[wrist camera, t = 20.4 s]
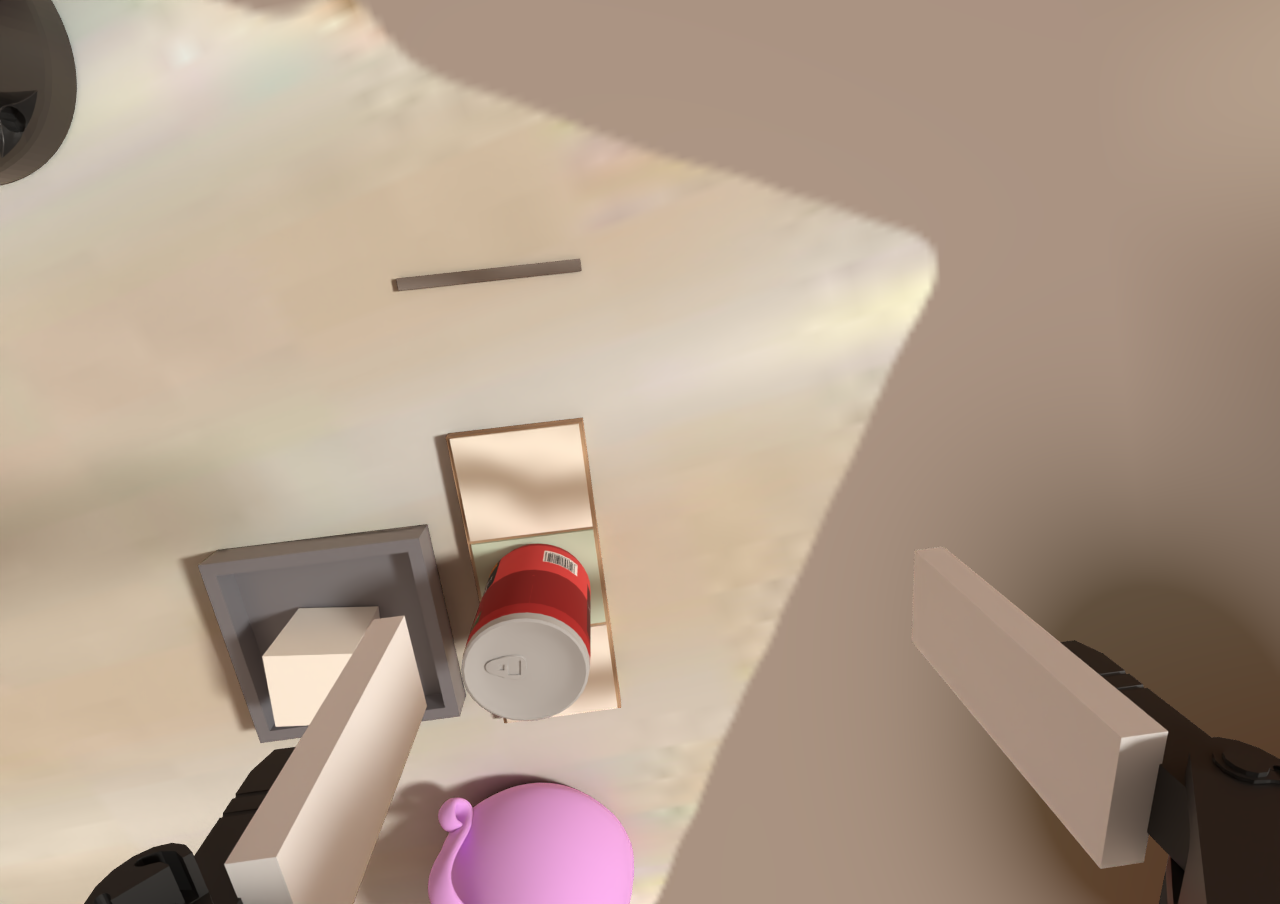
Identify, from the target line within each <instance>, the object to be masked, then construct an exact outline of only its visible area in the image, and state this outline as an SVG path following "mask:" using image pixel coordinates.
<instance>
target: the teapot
mask: <svg viewBox="0 0 1280 904" xmlns="http://www.w3.org/2000/svg"><path fill="white" fill-rule="evenodd" d="M438 819H439V823H440V825H441V826H442V828H443V829H444V830H445V831H447V832H450V833H449V834H448V836H447V838H446V840H445V841H444V844H443V846H442V849H441V851H440V853H439V854H438V856H437V858H436V860H435V862H434V864H433V867H432V869H431V872H430V876H429V882H428V894H429V899H430V902H431V904H630V899H631V894H632V886H633V878H634V857H633V850H632V845H631V842H630V840H629V837H628V835H627V833H626V831H625V829H624V828H623V826H622V824H621V823H620V821H619V820H618V819H617V818H616V817H615V816H614V814H613V813H611V812H610V811H609V810H608V809H607V808H606V807H605V806H603V805H602V804H601V803H599V802H598V801H596V800H595V799H593V798H592V797H590V796H589V795H587V794H585V793H583V792H581V791H579V790H577V789H574V788H571V787H568V786H564V785H560V784H554V783H528V784H523V785H518V786H515V787H511V788H508V789H506V790H503V791H501V792H499V793H496V794H494V795H492V796H490V797H489V798H487V799H485V800H483V801H482V802H480V803H479V804H477V805H476V806H474V807H473V808H472V806H471V804H470V803H469V802H468V801H467V800H466V799H463V798H459V797H455V798H450V799H448V800H447V801H445V802H444V804H443V805H442V806H441V808H440V810H439V813H438Z"/></svg>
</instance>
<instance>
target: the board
mask: <svg viewBox="0 0 1280 904" xmlns="http://www.w3.org/2000/svg"><path fill="white" fill-rule="evenodd" d="M575 271H582V270H581V262H580V259H573V260H564V261H555V262H546V263H536V264H527V265H518V266H509V267H499V268H490V269H481V270H471V271H462V272H453V273H444V274H434V275H425V276H416V277H406V278H397V279H396V281H397V286H398V290H399V291H400V290H409V289H419V288H428V287H437V286H446V285H455V284H465V283H474V282H483V281H492V280H501V279H511V278H520V277H529V276H538V275H548V274H557V273H566V272H575ZM446 441H447V446H448V451H449V456H450V461H451V466H452V470H453V475H454V480H455V485H456V490H457V495H458V500H459V505H460V509H461V514H462V519H463V524H464V529H465V534H466V539H467V544H468V548H469V553H470V558H471V563H472V568H473V573H474V578H475V582H476V587H477V592H478V597H479V602H481V599H482V596H483V593H484V590H485V587H486V584H487V582H488V579H489V576H490V573H491V571H492V569H493V568H494V566H495V565H496V564H497V563H498V562H499V561H500V560H501V559H502V558H503V557H504V556H505V555H507V554H508V553H510V552H511V551H513V550H514V549H517V548H519V547H521V546H525V545H529V544H549V545H553V546H557V547H560V548H562V549H564V550H566V551H568V552H569V553H571V554H572V555H573V556H574V557H576V559H577V560H578V561H579V562H580V563H581V564H582V566H583V567H584V569H585V571H586V573H587V574H588V578H589V581H590V590H591V657H590V670H589V676H588V681H587V684H586V686H585V688H584V691H583V692H582V694H581V695H580V697H579V698H578V699H577V700H576V701H575V702H574V703H573V704H572V705H571V706H570V707H569V708H567V709H565V710H564V711H562V712H561V713H559V714H556V715H554V716H551V717H556V716H563V715H571V714H578V713H586V712H593V711H600V710H608V709H615V708H621V699H620V691H619V684H618V676H617V669H616V662H615V654H614V647H613V639H612V632H611V625H610V617H609V610H608V602H607V595H606V587H605V580H604V573H603V565H602V558H601V550H600V543H599V535H598V528H597V521H596V513H595V506H594V498H593V491H592V484H591V476H590V469H589V461H588V454H587V446H586V439H585V432H584V424H583V418H576V419H567V420H559V421H550V422H542V423H533V424H525V425H516V426H508V427H499V428H491V429H482V430H474V431H465V432H456V433H449V434H448V435H447V436H446ZM503 719H504V723H511V722H519V721H518V720H510V719H506V718H503Z"/></svg>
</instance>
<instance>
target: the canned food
mask: <svg viewBox="0 0 1280 904" xmlns="http://www.w3.org/2000/svg"><path fill="white" fill-rule="evenodd" d="M590 657H591V590H590V581H589V578H588V574H587V573H586V571H585V569H584V567H583V566H582V564H581V563H580V562H579V561H578V560H577V559H576V557H574V556H573V555H572V554H571V553H569V552H568V551H566V550H564V549H562V548H560V547H557V546H553V545H549V544H529V545H525V546H521V547H519V548H517V549H514V550H513V551H511V552H510V553H508V554H507V555H505V556H504V557H503V558H502V559H501V560H500V561H499V562H498V563H497V564H496V565H495V566H494V568H493V569H492V571H491V573H490V576H489V579H488V582H487V584H486V587H485V590H484V593H483V596H482V599H481V602H480V605H479V608H478V611H477V614H476V617H475V620H474V623H473V626H472V629H471V632H470V635H469V637H468V640H467V643H466V648H465V651H464V654H463V660H462V669H461V671H462V678H463V682H464V685H465V687H466V690H467V691H468V693H469V694H470V696H471V697H472V699H473V700H474V701H476V702H477V703H478V704H479V705H480V706H481V707H482V708H484V709H485V710H487V711H488V712H490V713H492V714H495V715H497V716H499V717H502V718H506V719H510V720H518V721H534V720H540V719H545V718H549V717H551V716H554V715H556V714H559V713H561V712H562V711H564V710H565V709H567V708H569V707H570V706H571V705H572V704H573V703H574V702H575V701H576V700H577V699H578V698H579V697H580V695H581V694H582V692H583V691H584V688H585V686H586V684H587V681H588V676H589V670H590Z"/></svg>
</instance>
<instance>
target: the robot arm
mask: <svg viewBox="0 0 1280 904" xmlns="http://www.w3.org/2000/svg"><path fill="white" fill-rule="evenodd" d="M76 92H77V83H76V69H75V63H74V57H73V53H72V48H71V45H70V42H69V38H68V35H67V33H66V30H65V27H64V25H63V22H62V20H61V18H60V16H59V14H58V12H57V10H56V8H55V6H54V4H53V2H52V1H51V0H0V185H1V184H6V183H10V182H13V181H16V180H19V179H21V178H23V177H25V176H27V175H29V174H31V173H33V172H34V171H36V170H37V169H39V168H40V167H41V166H43V165H44V164H45V163H46V162H47V161H48V160H49V159H50V158H51V157H52V156H53V155H54V154H55V152H56V151H57V150H58V148H59V147H60V145H61V144H62V142H63V140H64V139H65V137H66V135H67V132H68V130H69V128H70V125H71V122H72V119H73V114H74V110H75V103H76ZM912 643H913V644H914V645H915V646H916V647H917V649H918V650H919V651H920V652H921V653H922V655H923V656H924V657H925V658H926V659H927V661H928V662H929V663H930V664H931V666H932V667H933V668H934V669H935V670H936V671H937V673H938V674H939V675H940V676H941V677H942V679H943V680H944V681H945V682H946V683H947V685H948V686H949V687H950V688H951V689H952V691H953V692H954V693H955V694H956V695H957V697H958V698H959V699H960V700H961V701H962V703H963V704H964V705H965V706H966V708H967V709H968V710H969V711H970V712H971V714H972V715H973V716H974V717H975V718H976V720H977V721H978V722H979V723H980V724H981V726H982V727H983V728H984V729H985V730H986V732H987V733H988V734H989V735H990V736H991V738H992V739H993V740H994V741H995V742H996V744H997V745H998V746H999V747H1000V748H1001V750H1002V751H1003V752H1004V753H1005V755H1006V756H1007V757H1008V758H1009V759H1010V761H1011V762H1012V763H1013V764H1014V765H1015V767H1016V768H1017V769H1018V770H1019V771H1020V772H1021V774H1022V775H1023V776H1024V777H1025V779H1026V780H1027V781H1028V782H1029V783H1030V785H1031V786H1032V787H1033V788H1034V789H1035V791H1036V792H1037V793H1038V794H1039V795H1040V797H1041V798H1042V799H1043V800H1044V801H1045V803H1046V804H1047V805H1048V806H1049V807H1050V809H1051V810H1052V811H1053V812H1054V813H1055V815H1056V816H1057V817H1058V818H1059V819H1060V821H1061V822H1062V823H1063V824H1064V825H1065V827H1066V828H1067V829H1068V830H1069V831H1070V833H1071V834H1072V835H1073V836H1074V837H1075V838H1076V840H1077V841H1078V842H1079V843H1080V844H1081V846H1082V847H1083V848H1084V850H1085V851H1086V852H1087V853H1088V854H1089V856H1090V857H1091V858H1092V859H1093V860H1094V861H1095V863H1096V864H1097V865H1098V866H1099V867H1100V868H1108V867H1115V866H1122V865H1129V864H1135V863H1142V862H1144V858H1145V852H1146V847H1147V842H1148V836H1149V835H1150V836H1151V837H1152V838H1153V839H1154V840H1155V841H1156V842H1157V843H1158V844H1159V845H1160V846H1161V847H1162V848H1163V849H1164V850H1165V851H1166V852H1167V853H1168V854H1169V856H1168V861H1167V866H1166V872H1165V876H1164V881H1163V886H1162V892H1161V896H1160V901H1159V904H1280V759H1278V758H1276V757H1275V756H1273V755H1271V754H1269V753H1267V752H1265V751H1264V750H1262V749H1260V748H1257V747H1254V746H1252V745H1249V744H1246V743H1243V742H1240V741H1237V740H1231V739H1226V738H1220V737H1213V738H1211V737H1210V736H1209V735H1207V734H1206V733H1205V732H1204V731H1202V730H1201V729H1200V728H1198V727H1197V726H1196V725H1195V724H1193V723H1192V722H1190V721H1189V720H1188V719H1187V718H1185V717H1184V716H1183V715H1182V714H1180V713H1179V712H1178V711H1176V710H1175V709H1174V708H1173V707H1171V706H1170V705H1169V704H1167V703H1166V702H1165V701H1164V700H1162V699H1161V698H1159V697H1158V696H1157V695H1156V694H1154V693H1153V692H1152V691H1151V690H1149V689H1148V688H1144V687H1143V684H1141V683H1140V682H1139V681H1138V680H1136V679H1135V678H1134V677H1133V676H1131V675H1130V674H1126V673H1125V671H1124V670H1123V669H1122V668H1121V667H1120V666H1118V665H1117V664H1116V663H1114V662H1113V661H1112V660H1110V659H1109V658H1108V657H1107V656H1105V655H1104V654H1103V653H1101V652H1098V651H1096V650H1094V649H1092V648H1090V647H1088V646H1086V645H1084V644H1082V643H1079V642H1077V641H1075V640H1074V641H1066V642H1059V641H1058V640H1056V639H1055V638H1054V637H1052V635H1050V634H1049V633H1048V632H1047V631H1045V630H1044V629H1043V628H1042V627H1041V626H1039V625H1038V624H1037V623H1036V622H1035V621H1033V620H1032V619H1031V618H1030V617H1029V616H1027V615H1026V614H1025V613H1024V612H1022V611H1021V610H1020V609H1019V608H1017V607H1016V606H1015V605H1014V604H1013V603H1011V602H1010V601H1009V600H1008V599H1007V598H1005V597H1004V596H1003V595H1002V594H1001V593H999V592H998V591H997V590H996V589H994V588H993V587H992V586H991V585H990V584H988V583H987V582H986V581H985V580H983V579H982V578H981V577H980V576H979V575H977V574H976V573H975V572H974V571H973V570H971V569H970V568H969V567H968V566H966V565H965V564H964V563H962V562H961V561H960V560H959V559H958V558H957V557H955V556H954V555H953V554H952V553H951V552H949V551H948V550H947V549H946V548H945V547H936V548H930V549H921V550H915V554H914V584H913V614H912ZM426 707H427V704H426V700H425V696H424V692H423V688H422V684H421V680H420V676H419V672H418V668H417V664H416V660H415V656H414V652H413V648H412V644H411V640H410V636H409V632H408V628H407V624H406V620H405V616H396V617H388V618H381V619H374V620H373V621H372V623H371V625H370V626H369V628H368V630H367V631H366V633H365V634H364V636H363V638H362V639H361V641H360V643H359V644H358V646H357V648H356V649H355V651H354V652H353V654H352V656H351V657H350V659H349V661H348V662H347V664H346V666H345V667H344V669H343V670H342V672H341V674H340V675H339V677H338V679H337V680H336V682H335V684H334V685H333V687H332V688H331V690H330V692H329V693H328V695H327V697H326V698H325V700H324V702H323V703H322V705H321V706H320V708H319V710H318V711H317V713H316V715H315V716H314V718H313V720H312V721H311V723H310V724H309V726H308V728H307V729H306V731H305V733H304V734H303V736H302V738H301V739H300V741H299V743H298V744H297V746H296V747H291V748H284V749H277V750H274V751H273V752H272V753H271V754H269V755H268V756H267V757H266V758H265V759H264V760H263V761H262V762H261V763H259V764H258V765H257V766H256V767H255V768H254V769H253V770H252V771H251V772H250V773H249V775H248V776H247V778H246V779H245V781H244V782H243V784H242V785H241V787H240V788H239V790H238V791H237V793H236V797H235V798H234V799H232V800H231V802H230V803H229V805H228V806H227V808H226V809H225V811H224V812H223V817H222V818H219V820H218V821H217V823H216V824H215V826H214V827H213V829H212V830H211V832H210V833H209V835H208V836H207V838H206V839H205V841H204V842H203V844H202V845H201V847H200V848H199V850H198V851H197V853H196V854H195V856H194V855H193V853H192V852H191V850H190V849H189V848H188V847H187V846H186V845H183V844H176V843H170V844H165V845H161V846H156V847H153V848H151V849H148V850H146V851H144V852H142V853H140V854H138V855H135V856H133V857H132V858H130V859H129V860H127V861H126V862H124V863H123V864H122V865H120V866H119V867H117V868H116V869H114V870H113V871H112V872H111V873H110V874H109V875H108V876H106V877H105V878H104V879H103V880H102V881H101V882H100V883H99V884H98V885H97V886H96V887H95V888H94V890H93V891H92V893H91V894H90V896H89V897H88V899H87V900H86V902H85V903H84V904H353V903H354V900H355V898H356V895H357V892H358V890H359V887H360V884H361V882H362V879H363V876H364V874H365V871H366V868H367V866H368V863H369V860H370V857H371V855H372V852H373V849H374V847H375V844H376V841H377V839H378V836H379V833H380V831H381V828H382V825H383V823H384V820H385V817H386V815H387V812H388V809H389V807H390V804H391V801H392V799H393V796H394V793H395V790H396V788H397V785H398V782H399V780H400V777H401V774H402V772H403V769H404V766H405V764H406V761H407V758H408V756H409V753H410V750H411V748H412V745H413V742H414V740H415V737H416V734H417V731H418V729H419V726H420V723H421V721H422V718H423V715H424V713H425V710H426Z"/></svg>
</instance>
